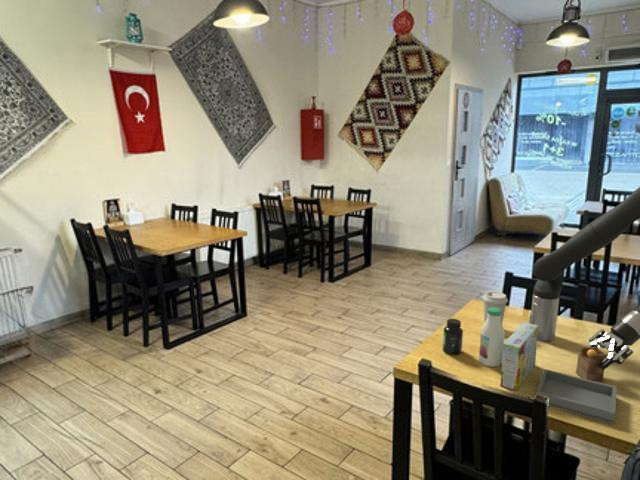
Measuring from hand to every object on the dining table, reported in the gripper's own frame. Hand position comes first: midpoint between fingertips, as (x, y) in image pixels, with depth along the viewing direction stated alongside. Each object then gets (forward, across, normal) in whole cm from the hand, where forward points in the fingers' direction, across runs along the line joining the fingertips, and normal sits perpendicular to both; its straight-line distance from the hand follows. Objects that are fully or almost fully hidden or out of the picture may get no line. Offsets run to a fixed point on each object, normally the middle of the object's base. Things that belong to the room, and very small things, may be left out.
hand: (592, 361), depth 150 cm
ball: (-2, 0, -2) cm, 3 cm away
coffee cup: (+16, -39, -8) cm, 43 cm away
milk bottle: (+25, -12, -16) cm, 32 cm away
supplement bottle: (+32, -20, -24) cm, 45 cm away
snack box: (+21, -3, -12) cm, 24 cm away
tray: (+13, +12, -4) cm, 18 cm away
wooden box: (+4, 0, +4) cm, 6 cm away
